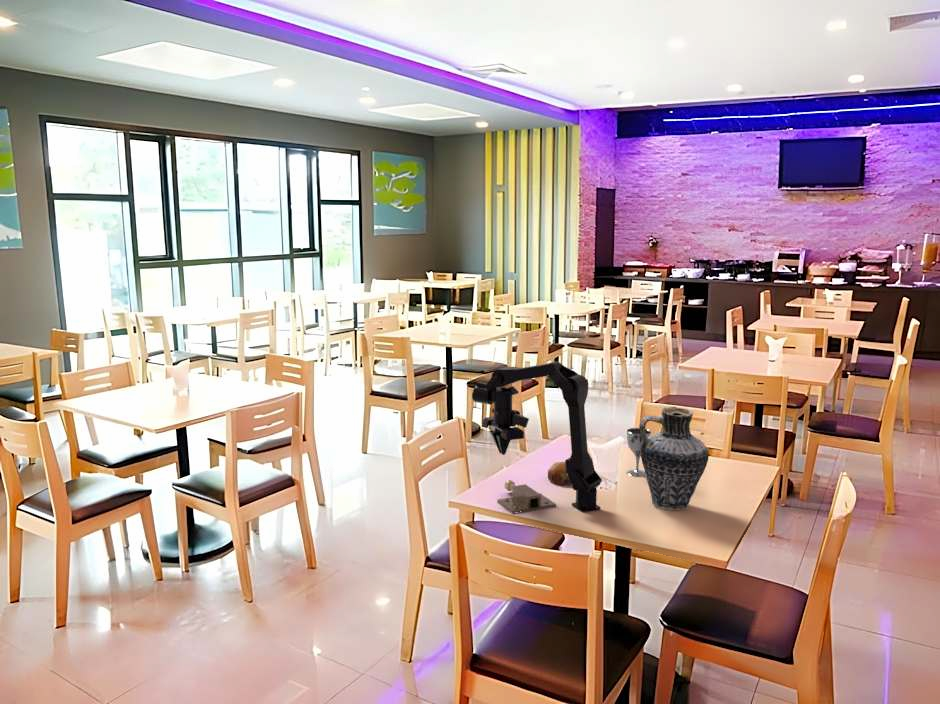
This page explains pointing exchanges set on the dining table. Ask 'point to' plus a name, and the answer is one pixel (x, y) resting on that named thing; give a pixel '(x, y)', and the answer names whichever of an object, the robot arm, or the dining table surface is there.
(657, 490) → the jug
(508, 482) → the pin
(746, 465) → the dining table surface
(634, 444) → the wine glass
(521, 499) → the hinge
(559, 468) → the bread roll
